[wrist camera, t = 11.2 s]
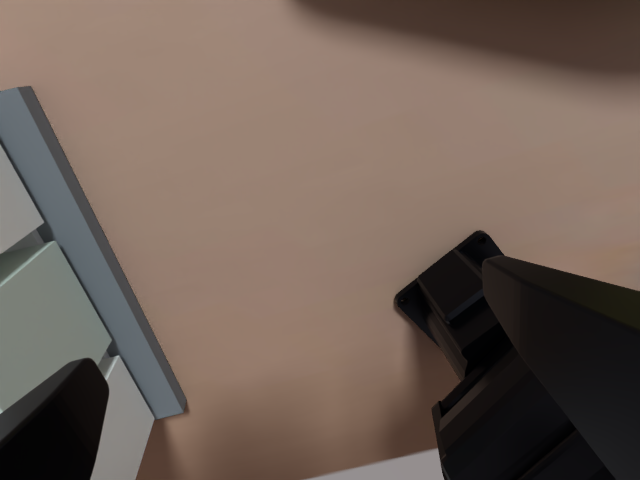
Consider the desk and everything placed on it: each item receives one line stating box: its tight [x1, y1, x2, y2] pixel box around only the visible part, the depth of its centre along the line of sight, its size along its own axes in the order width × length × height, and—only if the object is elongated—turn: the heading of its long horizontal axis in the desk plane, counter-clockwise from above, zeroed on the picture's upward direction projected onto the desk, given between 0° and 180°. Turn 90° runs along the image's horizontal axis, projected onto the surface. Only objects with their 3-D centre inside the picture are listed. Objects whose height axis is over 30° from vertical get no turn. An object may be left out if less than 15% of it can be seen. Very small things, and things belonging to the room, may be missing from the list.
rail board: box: [0, 86, 186, 480], centre depth 17 cm, size 19×8×7 cm, turn 12°
